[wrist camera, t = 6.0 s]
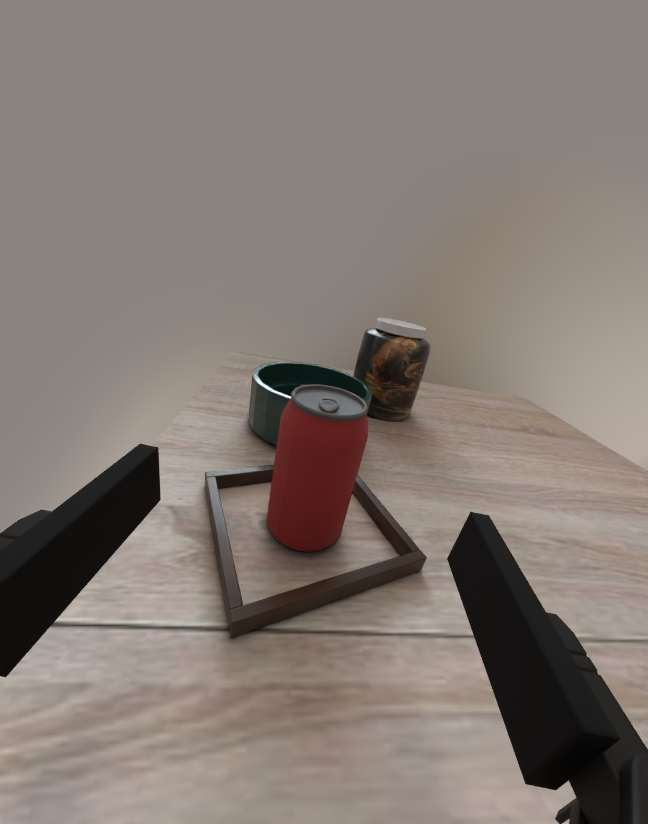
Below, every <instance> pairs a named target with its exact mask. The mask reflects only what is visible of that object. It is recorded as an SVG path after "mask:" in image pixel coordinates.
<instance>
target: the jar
mask: <svg viewBox="0 0 648 824" xmlns="http://www.w3.org/2000/svg"><path fill="white" fill-rule="evenodd" d="M375 327H376V328H371V329H367V330H366V331H365V333H364V336H363V340H362V343H361V347H360V351H359V355H358V359H357V363H356V367H355V371H354V377H356V378H358V379H360V380H361V381H363V382H364V383H366V384H367V385H368V386H369V388H370V389H371V390H372V398H371V402H370V405H369V409H368V413H367V415H369V416H372V417H375V418H378V419H383V420H391V421H398V420H404V419H406V418H408V416H409V415H410V412H411V409H412V406H413V403H414V400H415V397H416V394H417V391H418V388H419V385H420V382H421V379H422V376H423V372H424V369H425V366H426V363H427V359H428V356H429V352H430V344H429V343H428V342H427V341H426V340H424V339H423V338H424V335H425V331H426V329H425V328H423V327H422V326H418V325H415V324H411V323H408V322H404V321H399V320H393V319H387V318H378V319H377V322H376V325H375Z"/></svg>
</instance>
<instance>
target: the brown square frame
mask: <svg viewBox="0 0 648 824" xmlns="http://www.w3.org/2000/svg"><path fill="white" fill-rule="evenodd" d="M273 470H274V465H267V466H258V467H249V468H240V469H231V470H222V471H213V472H205V489H206V495H207V501H208V507H209V513H210V519H211V525H212V531H213V537H214V543H215V549H216V555H217V561H218V567H219V573H220V579H221V585H222V591H223V597H224V603H225V609H226V614H227V620H228V627H229V633H230V638H233V637H236V636H239V635H242V634H244V633H247V632H250V631H253V630H256V629H258V628H261V627H264V626H267V625H270V624H272V623H275V622H278V621H281V620H284V619H286V618H289V617H292V616H295V615H298V614H300V613H303V612H306V611H309V610H312V609H314V608H317V607H320V606H323V605H326V604H328V603H331V602H334V601H337V600H340V599H342V598H345V597H348V596H351V595H354V594H356V593H359V592H362V591H365V590H368V589H370V588H373V587H376V586H379V585H382V584H384V583H387V582H390V581H393V580H396V579H398V578H401V577H404V576H407V575H410V574H412V573H415V572H418V571H421V569H422V567H423V565H424V563H425V560H426V558H427V557H426V556H425V555H424V554H423V553H422V551H421V550H420V549H419V548H418V547H417V545H416V544H415V543H414V542H413V541H412V539H411V538H410V537H409V536H408V535H407V533H406V532H405V531H404V530H403V529H402V527H401V526H400V525H399V524H398V523H397V521H396V520H395V519H394V518H393V517H392V515H391V514H390V513H389V512H388V511H387V509H386V508H385V507H384V506H383V505H382V503H381V502H380V501H379V500H378V499H377V497H376V496H375V495H374V494H373V493H372V491H371V490H370V489H369V488H368V487H367V485H366V484H365V483H364V482H363V481H362V479H361V478H360V477H359V476H358V475H357V477H356V481H355V484H354V488H353V491H352V492H353V493H354V494H355V496H356V497H357V498H358V500H359V501H360V502H361V504H362V505H363V506H364V508H365V509H366V510H367V512H368V513H369V514H370V516H371V517H372V518H373V520H374V521H375V522H376V524H377V525H378V526H379V528H380V529H381V530H382V531H383V533H384V534H385V535H386V537H387V538H388V539H389V541H390V542H391V543H392V545H393V546H394V547H395V549H396V550H397V551H398V553H399V554H400V555H401V556H399V557H396V558H392V559H389V560H386V561H383V562H380V563H377V564H373V565H370V566H367V567H364V568H361V569H358V570H354V571H351V572H348V573H345V574H342V575H338V576H335V577H332V578H329V579H326V580H323V581H319V582H316V583H313V584H310V585H307V586H304V587H300V588H297V589H294V590H291V591H288V592H285V593H281V594H278V595H275V596H272V597H269V598H265V599H262V600H259V601H256V602H253V603H250V604H246V605H243V602H242V597H241V593H240V588H239V584H238V579H237V574H236V570H235V565H234V561H233V556H232V551H231V547H230V542H229V538H228V533H227V528H226V524H225V519H224V515H223V510H222V505H221V501H220V496H219V492H218V488H225V487H232V486H240V485H247V484H255V483H262V482H269V481H272V477H273Z"/></svg>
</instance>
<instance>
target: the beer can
mask: <svg viewBox="0 0 648 824" xmlns="http://www.w3.org/2000/svg"><path fill="white" fill-rule="evenodd" d="M367 410H368V406H367V404H366V402H365V401H364V400H363V399H361V398H360V397H359V396H357V395H355V394H353V393H352V392H349V391H346V390H344V389H340V388H336V387H333V386H326V385H303V386H300V387H297V388H295V389H294V390H293V391H292V392H291V399H290V400H289V402H288V404H287V405H286V407H285V409H284V411H283V413H282V416H281V420H280V427H279V434H278V441H277V448H276V456H275V463H274V470H273V477H272V485H271V492H270V499H269V506H268V513H267V523H268V526H269V530H270V531H271V533H272V534H273V535H274V537H275V538H276V539H277V540H278V541H280V542H281V543H282V544H284V545H285V546H287V547H289V548H292V549H295V550H298V551H309V552H312V551H317V550H322V549H325V548H326V547H328V546H330V545H332V544H333V543H334V542H335V541H336V540H337V539H338V537H339V536H340V534H341V531H342V527H343V524H344V520H345V517H346V513H347V509H348V506H349V502H350V499H351V495H352V491H353V488H354V484H355V481H356V477H357V473H358V470H359V466H360V463H361V459H362V455H363V452H364V448H365V445H366V441H367V437H368V422H367V415H366V414H367Z"/></svg>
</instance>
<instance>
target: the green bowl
mask: <svg viewBox="0 0 648 824" xmlns="http://www.w3.org/2000/svg"><path fill="white" fill-rule="evenodd" d="M303 385H326V386H333V387H336V388H340V389H344V390H346V391H349V392H352V393H353V394H355V395H357V396H359V397H360V398H361V399H363V400H364V401H365V402H366V404H367V406H368V409H369V405H370V402H371V398H372V390H371V389H370V388H369V386H368V385H367V384H366V383H364V382H363V381H361V380H360V379H358V378H356V377H354V376H352V375H350V374H348V373H345V372H342V371H339V370H336V369H333V368H329V367H325V366H321V365H316V364H309V363H302V362H272V363H268V364H264V365H260V366H259V367H257V368H256V369H254V371H253V375H252V384H251V396H250V407H249V418H248V421H249V423H250V425H251V427H252V429H253V431H255V432H256V433H257V434H258V435H259V436H260V437H262V438H263V439H264V440H266V441H268V442H270V443H272V444H274V445H276V446H277V441H278V434H279V427H280V420H281V416H282V413H283V411H284V409H285V407H286V405H287V404H288V402H289V400H290V399H291V392H292V391H293V390H294V389H295V388H297V387H300V386H303ZM367 413H368V410H367ZM366 415H367V414H366Z"/></svg>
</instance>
